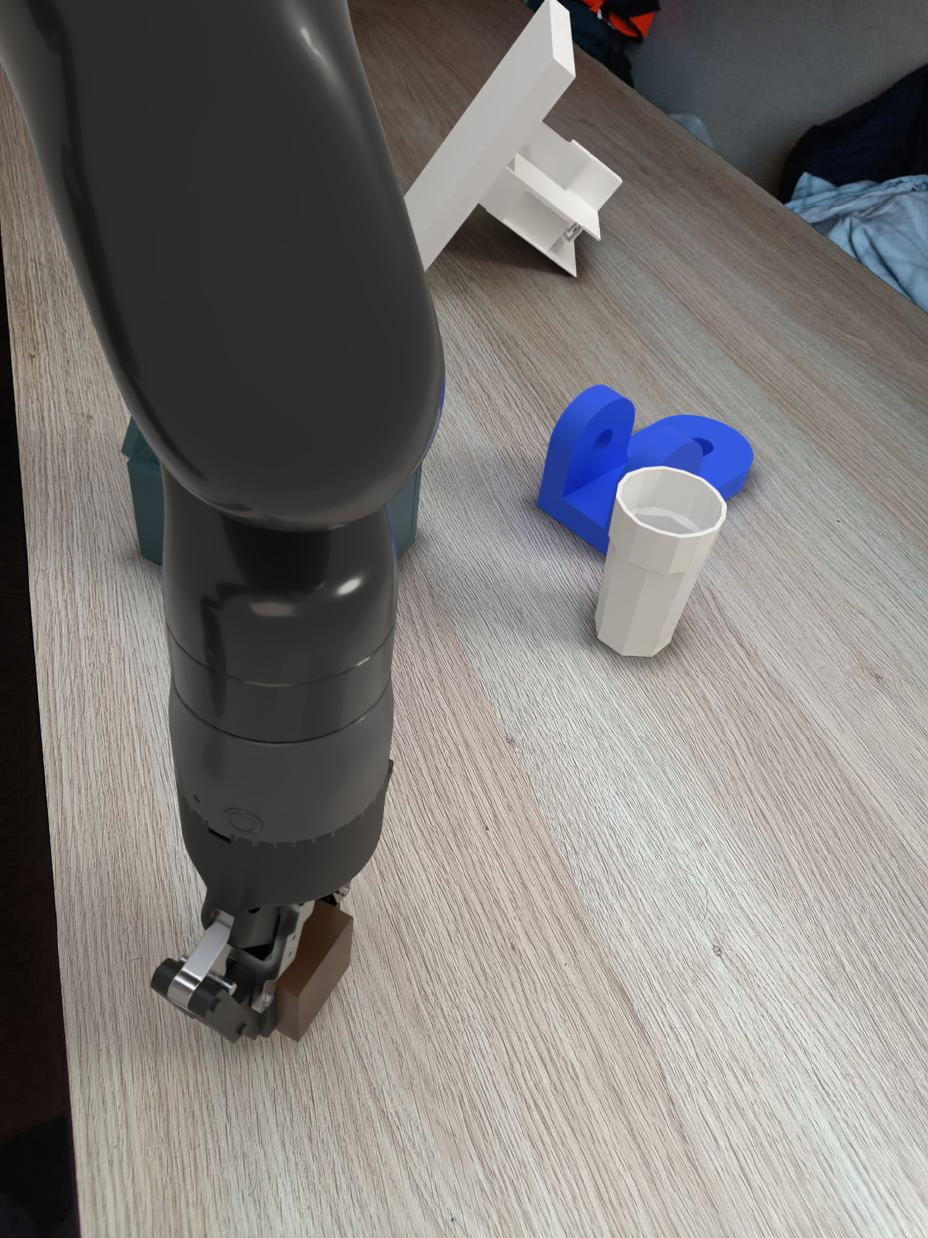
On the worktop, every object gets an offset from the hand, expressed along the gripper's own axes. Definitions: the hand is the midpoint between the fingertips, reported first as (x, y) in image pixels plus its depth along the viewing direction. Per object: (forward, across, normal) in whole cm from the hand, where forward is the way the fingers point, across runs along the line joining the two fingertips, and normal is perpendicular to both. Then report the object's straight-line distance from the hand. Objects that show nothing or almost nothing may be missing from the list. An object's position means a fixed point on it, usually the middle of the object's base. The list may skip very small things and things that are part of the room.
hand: (284, 976), depth 49 cm
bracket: (+2, -48, +1) cm, 48 cm away
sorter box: (+2, -26, -18) cm, 32 cm away
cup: (+2, -33, +5) cm, 33 cm away
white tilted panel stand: (+1, -76, -26) cm, 80 cm away
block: (0, 0, 0) cm, 0 cm away
